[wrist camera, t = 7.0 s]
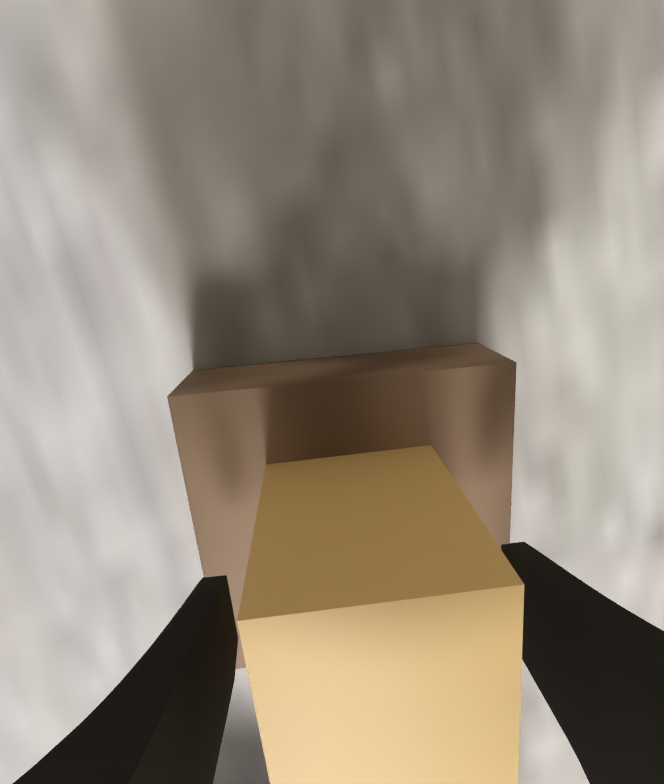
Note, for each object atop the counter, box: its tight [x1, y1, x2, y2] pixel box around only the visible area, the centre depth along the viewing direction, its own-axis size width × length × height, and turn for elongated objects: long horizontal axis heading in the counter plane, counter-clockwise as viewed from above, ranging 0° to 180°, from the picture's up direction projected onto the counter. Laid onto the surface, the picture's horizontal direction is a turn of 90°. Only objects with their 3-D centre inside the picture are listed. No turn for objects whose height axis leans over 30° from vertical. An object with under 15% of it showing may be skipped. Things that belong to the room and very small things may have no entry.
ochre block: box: [237, 445, 524, 784], centre depth 11 cm, size 5×5×6 cm
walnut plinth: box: [167, 343, 516, 669], centre depth 16 cm, size 10×10×3 cm
